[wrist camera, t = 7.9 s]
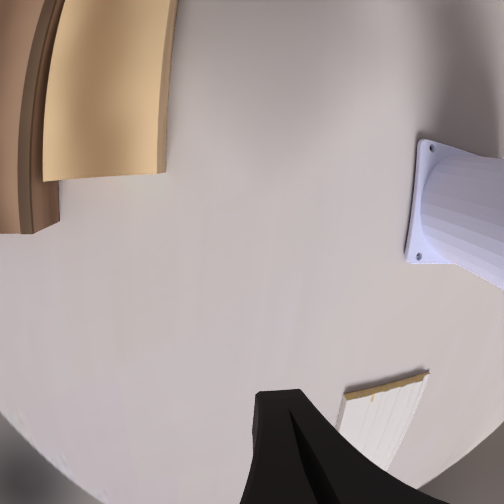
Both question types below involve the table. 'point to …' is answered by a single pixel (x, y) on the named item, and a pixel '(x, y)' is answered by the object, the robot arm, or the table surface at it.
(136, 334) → the table surface
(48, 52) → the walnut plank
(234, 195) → the table surface
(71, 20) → the oak plank
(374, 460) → the baseboard
